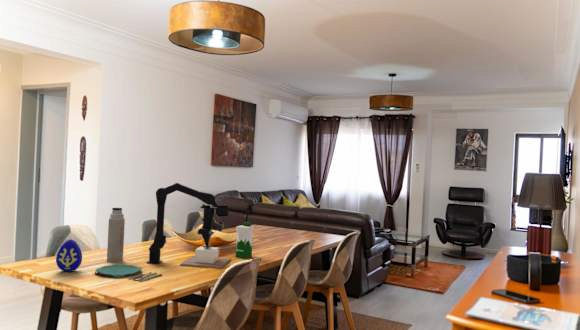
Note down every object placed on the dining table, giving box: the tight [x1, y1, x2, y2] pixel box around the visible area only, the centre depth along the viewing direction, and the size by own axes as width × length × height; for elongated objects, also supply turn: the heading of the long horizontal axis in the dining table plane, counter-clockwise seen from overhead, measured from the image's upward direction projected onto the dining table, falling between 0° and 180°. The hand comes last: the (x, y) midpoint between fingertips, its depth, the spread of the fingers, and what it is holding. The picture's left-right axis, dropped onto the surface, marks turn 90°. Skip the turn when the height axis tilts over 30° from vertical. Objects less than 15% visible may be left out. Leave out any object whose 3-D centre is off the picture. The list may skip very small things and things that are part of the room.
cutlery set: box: [94, 263, 163, 283], centre depth 220 cm, size 20×30×2 cm, turn 64°
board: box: [179, 255, 232, 269], centre depth 253 cm, size 22×22×1 cm
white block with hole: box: [194, 245, 219, 263], centre depth 253 cm, size 10×10×7 cm
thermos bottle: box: [106, 207, 126, 263], centre depth 248 cm, size 8×8×28 cm
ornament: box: [55, 239, 83, 273], centre depth 221 cm, size 11×9×15 cm
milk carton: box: [234, 221, 255, 259], centre depth 274 cm, size 9×9×20 cm
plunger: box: [202, 244, 213, 249], centre depth 253 cm, size 5×5×7 cm
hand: (207, 245), depth 253 cm, fingers closed, pressing on plunger
